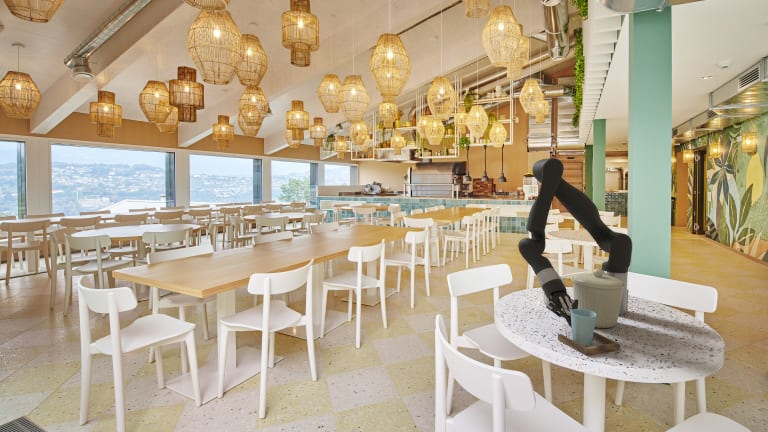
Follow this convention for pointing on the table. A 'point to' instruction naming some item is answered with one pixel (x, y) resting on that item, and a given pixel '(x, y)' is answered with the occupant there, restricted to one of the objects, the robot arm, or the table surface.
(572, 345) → the walnut bay
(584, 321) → the cup
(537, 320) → the table surface
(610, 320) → the canister
